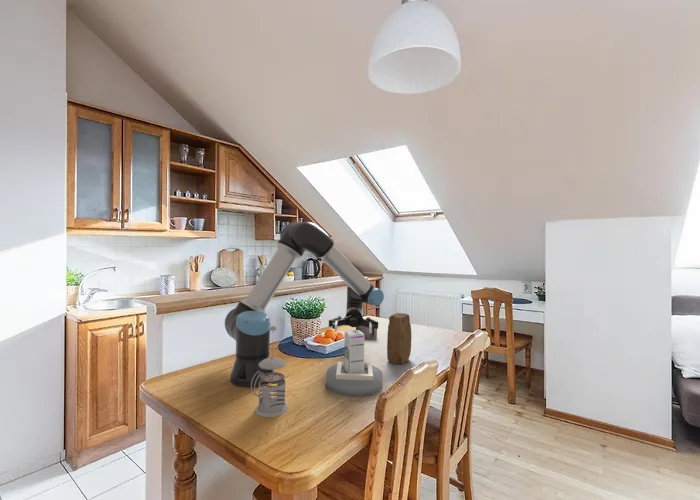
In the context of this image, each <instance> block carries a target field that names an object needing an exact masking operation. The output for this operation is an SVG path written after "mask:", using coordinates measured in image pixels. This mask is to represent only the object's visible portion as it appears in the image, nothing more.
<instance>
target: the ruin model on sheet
mask: <svg viewBox="0 0 700 500" xmlns="http://www.w3.org/2000/svg"><path fill="white" fill-rule="evenodd" d="M355 330H359V331H361V332H362V333H363V334H364V339H365V338H367V339H371V340H376V339H378V329H376V328H374V330H372V333H370V332H369V328H368V327H365V326H357V327H355Z"/></svg>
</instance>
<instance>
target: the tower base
mask: <svg viewBox="0 0 700 500" xmlns="http://www.w3.org/2000/svg"><path fill="white" fill-rule="evenodd" d="M372 364H373V363H372V362H365V361H364V374H349V373H346V372H345V370H344V361H337V364H333V365H332V366H330V367H329V368H327V369H326V371H325V372H326V373H325V374H326V375H325V386H326V388H327V389H328V390H329V391H331V392H332V393H334V394H336V395H337V394H338V395H339V396H340V395H341V396H346V397H358V396H360V397H367V396H366V395H368V396H371V395H370V394H372V395H374V394H373V393H375V394H377V393H379V390H380V391H381V390H382V388H383V382H384V381H383V377H384V376H383V375H384V373H383V371H382V370H381V369H380V368H379V367H377V366H374V365H372ZM376 392H377V393H376Z"/></svg>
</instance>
